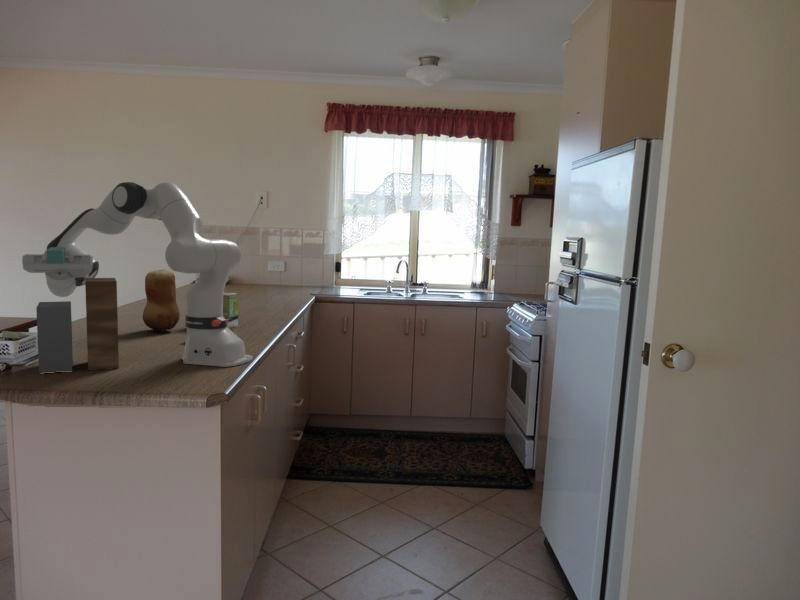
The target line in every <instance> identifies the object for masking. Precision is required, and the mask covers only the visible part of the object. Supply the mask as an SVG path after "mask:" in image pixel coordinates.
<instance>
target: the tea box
mask: <svg viewBox="0 0 800 600" xmlns="http://www.w3.org/2000/svg"><path fill="white" fill-rule="evenodd" d="M223 315H224V317H225V319H229V318H230V319H229V320H228V321H230V322H227V323H232V324H236V325H237V327H238V326H239V293H238V292H224V293H223Z"/></svg>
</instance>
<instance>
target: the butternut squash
mask: <svg viewBox="0 0 800 600" xmlns="http://www.w3.org/2000/svg"><path fill="white" fill-rule="evenodd" d="M176 287H177V286H176V276H175V274H174V271H173V270H172V271H171V270H170V269H166V268H165V269H156V270H151V271H150V272H148V273H147V274H146V275H145V278H144V292H145V296H146V304H145V306H144V308H143V311H142V320H143V322H144V325H145V326H146V327H147V328H150V329H151V330H153V331H154V332H162V333H163V332H166V331H168V330H172V329H174V328H175V327H176V326H177V324H178V323H179V321H180V319H181V318H180V316H181V314H180V308H179V306H178V304H177V303H178V302H177V293H176V292H177V290H176V289H177V288H176Z"/></svg>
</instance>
